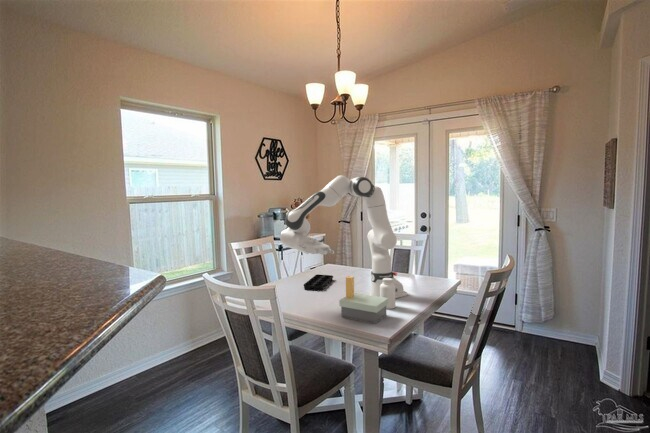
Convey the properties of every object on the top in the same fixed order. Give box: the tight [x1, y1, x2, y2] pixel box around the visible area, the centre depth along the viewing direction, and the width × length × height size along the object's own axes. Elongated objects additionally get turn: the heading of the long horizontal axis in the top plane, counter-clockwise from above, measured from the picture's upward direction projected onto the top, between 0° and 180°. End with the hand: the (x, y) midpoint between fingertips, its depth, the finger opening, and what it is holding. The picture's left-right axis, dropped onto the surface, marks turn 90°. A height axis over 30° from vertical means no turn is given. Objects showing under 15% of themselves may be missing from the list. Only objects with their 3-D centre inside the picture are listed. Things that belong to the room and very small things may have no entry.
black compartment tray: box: [303, 274, 334, 292], centre depth 233 cm, size 18×30×4 cm, turn 176°
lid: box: [338, 275, 388, 313], centre depth 173 cm, size 19×14×13 cm
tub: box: [340, 306, 387, 324], centre depth 173 cm, size 18×13×7 cm
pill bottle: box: [380, 278, 396, 310], centre depth 186 cm, size 8×8×15 cm
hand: (330, 252), depth 183 cm, fingers open, 8 cm apart
